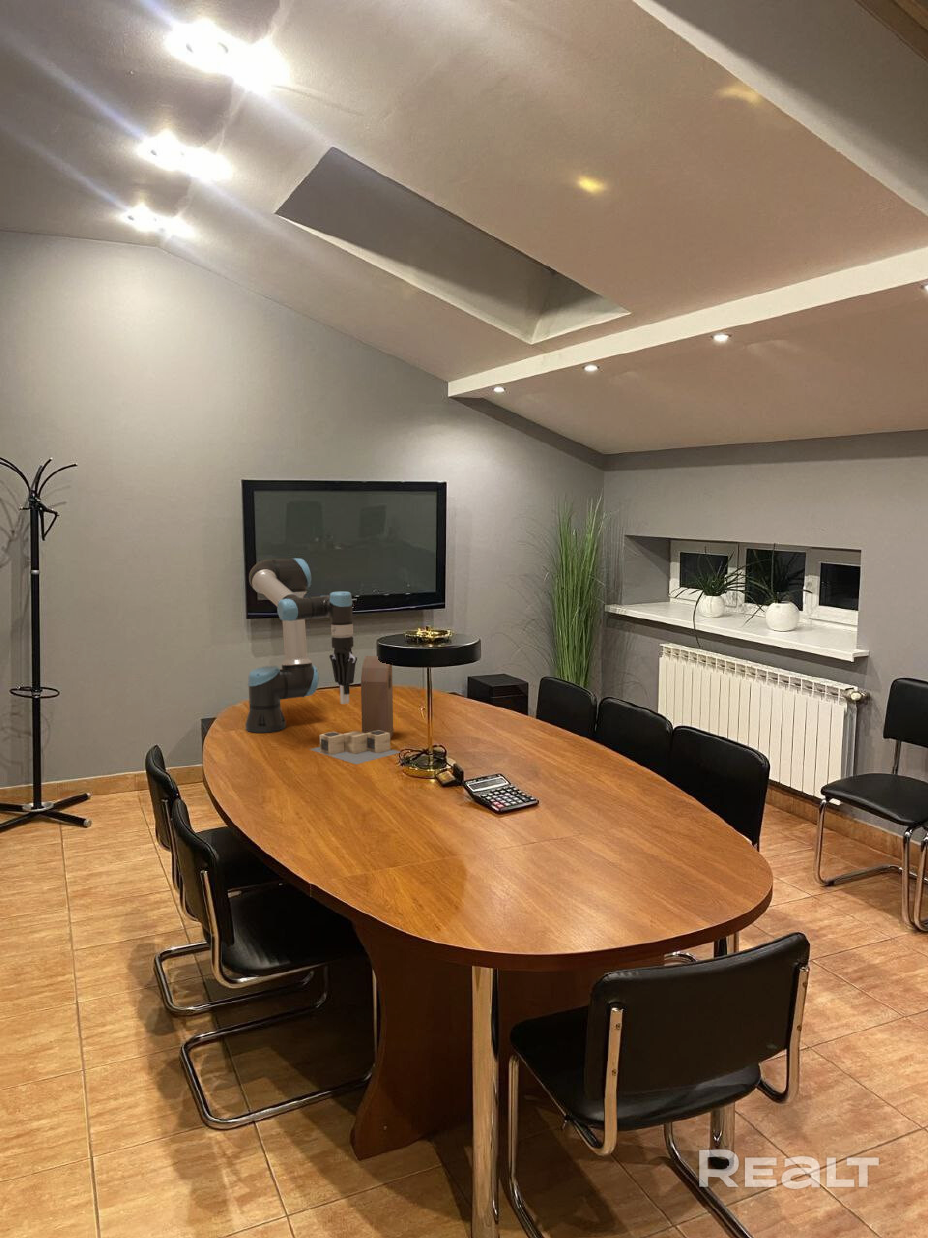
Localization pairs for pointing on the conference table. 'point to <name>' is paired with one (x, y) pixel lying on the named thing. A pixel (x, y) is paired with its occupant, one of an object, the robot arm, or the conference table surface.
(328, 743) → the marked block
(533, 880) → the conference table surface
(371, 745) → the marked block
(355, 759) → the mat
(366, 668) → the decorative block
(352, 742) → the plain block
